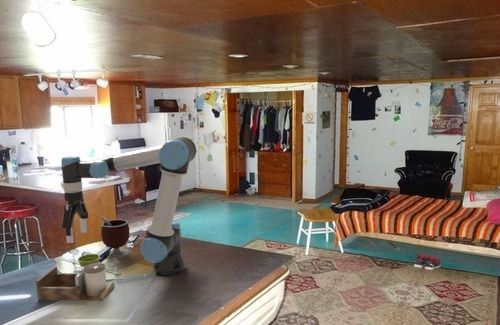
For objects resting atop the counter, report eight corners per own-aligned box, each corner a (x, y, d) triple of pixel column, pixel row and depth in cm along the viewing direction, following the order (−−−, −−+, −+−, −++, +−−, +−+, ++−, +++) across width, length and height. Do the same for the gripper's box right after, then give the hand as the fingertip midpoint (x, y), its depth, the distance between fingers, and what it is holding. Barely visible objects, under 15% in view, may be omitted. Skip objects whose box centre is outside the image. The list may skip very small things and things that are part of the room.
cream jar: (110, 287, 169) (108, 262, 167) (102, 296, 161) (100, 271, 159) (91, 287, 169) (89, 262, 168) (82, 296, 161) (80, 270, 159)
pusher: (91, 285, 171) (90, 263, 169) (79, 297, 159) (77, 274, 158) (83, 284, 171) (82, 263, 169) (70, 297, 160) (68, 274, 158)
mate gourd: (135, 251, 213) (133, 215, 210) (119, 260, 200) (117, 222, 197) (111, 248, 218) (109, 212, 215) (94, 257, 205) (91, 219, 202)
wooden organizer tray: (115, 286, 172) (114, 267, 170) (102, 302, 158) (100, 281, 157) (56, 286, 173) (54, 266, 172) (38, 302, 159) (36, 280, 158)
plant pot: (93, 280, 178) (92, 262, 177) (74, 279, 180) (73, 260, 178) (104, 272, 187) (103, 254, 186) (86, 270, 189) (85, 253, 188)
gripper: (77, 185, 188) (81, 228, 191) (50, 197, 164) (55, 247, 167) (93, 185, 188) (96, 228, 191) (68, 197, 163) (72, 247, 167)
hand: (77, 237), depth 179 cm, fingers open, 13 cm apart
